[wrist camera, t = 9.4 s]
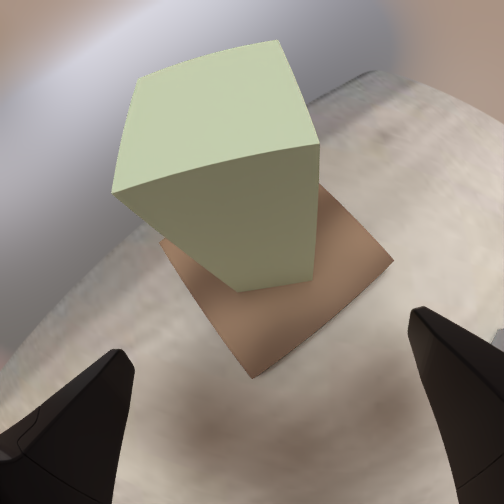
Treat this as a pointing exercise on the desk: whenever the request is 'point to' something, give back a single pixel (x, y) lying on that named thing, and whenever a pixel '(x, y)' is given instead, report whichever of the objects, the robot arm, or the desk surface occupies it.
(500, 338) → the gray metal brick
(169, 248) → the walnut board
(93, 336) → the desk surface
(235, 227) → the green block
